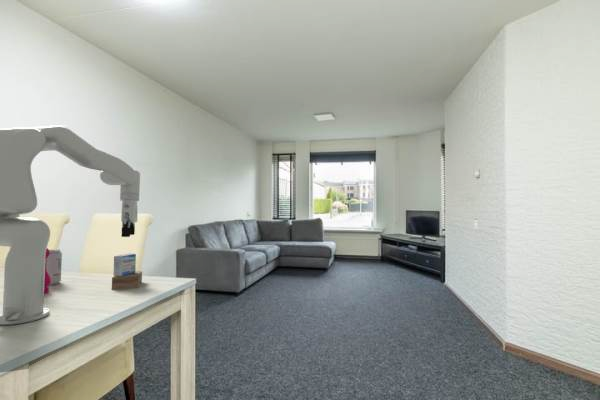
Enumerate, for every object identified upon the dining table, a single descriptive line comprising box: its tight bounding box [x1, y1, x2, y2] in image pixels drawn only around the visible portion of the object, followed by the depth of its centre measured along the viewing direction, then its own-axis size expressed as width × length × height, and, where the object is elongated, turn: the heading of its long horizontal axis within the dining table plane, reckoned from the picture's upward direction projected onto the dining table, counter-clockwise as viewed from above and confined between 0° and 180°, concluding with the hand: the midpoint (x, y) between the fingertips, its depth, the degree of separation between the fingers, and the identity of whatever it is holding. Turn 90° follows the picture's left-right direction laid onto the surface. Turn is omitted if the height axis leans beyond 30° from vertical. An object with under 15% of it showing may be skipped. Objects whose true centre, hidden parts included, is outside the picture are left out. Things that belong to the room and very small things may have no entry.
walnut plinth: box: [111, 270, 143, 291], centre depth 134 cm, size 10×10×5 cm
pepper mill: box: [44, 247, 51, 295], centre depth 121 cm, size 7×7×20 cm
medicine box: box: [113, 253, 137, 277], centre depth 133 cm, size 8×4×9 cm, turn 165°
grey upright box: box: [46, 248, 63, 286], centre depth 134 cm, size 6×6×15 cm
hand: (128, 235), depth 134 cm, fingers open, 9 cm apart
